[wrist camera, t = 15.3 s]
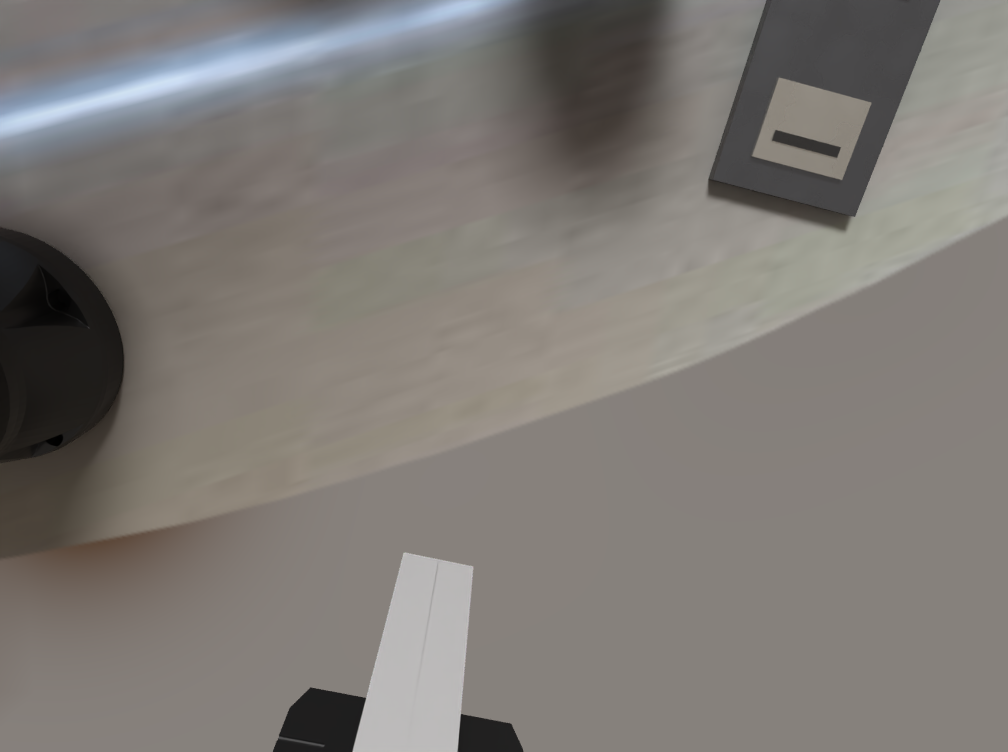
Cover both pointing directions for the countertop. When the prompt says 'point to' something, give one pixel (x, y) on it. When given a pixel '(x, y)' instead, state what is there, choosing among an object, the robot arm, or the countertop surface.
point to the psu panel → (820, 97)
